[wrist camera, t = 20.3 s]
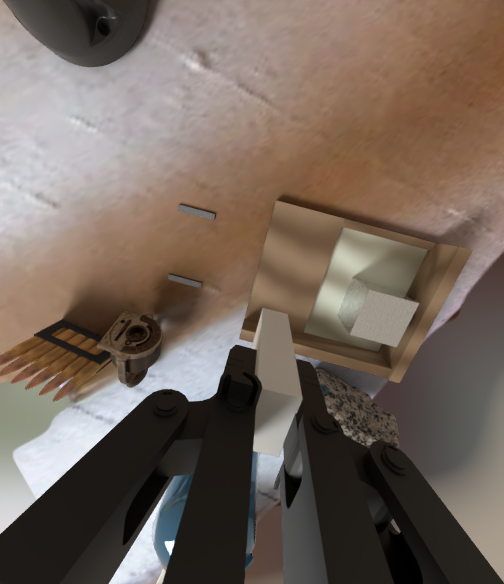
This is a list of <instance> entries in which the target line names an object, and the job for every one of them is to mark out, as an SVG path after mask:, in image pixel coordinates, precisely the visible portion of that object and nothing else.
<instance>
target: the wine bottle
mask: <svg viewBox="0 0 504 584" xmlns="http://www.w3.org/2000/svg"><path fill="white" fill-rule="evenodd" d="M259 456H260V453H259V452H255V451H253V459H252V474H251V489H250V504H249V519H248V534H247V549H246V564H245V570H246V569H247V568H248V567H249V566H250V565H251V563H252V562H253V555H252V551H253V548H254V545H255V538H256V519H257V498H258V477H259ZM193 475H194V474H188V475H180V476H174V478H173V480H172V481H171V483H170V484H169V486H168V488H167V489H166V491H165V493H164V495H163V498H162V500H161V503H160V506H159V508H158V511H157V513H156V516H155V519H154V522H153V527H152V539H153V544H154V548H155V551H156V553H157V556H158V559H159V562H160V564H161V565H162V567H163V569H164V570H165V571H166V569H167V566H168V562H169V559H170V555H171V552H172V548H173V545H174V541H175V538H176V534H177V531H178V527H179V524H180V520H181V517H182V513H183V510H184V506H185V503H186V499H187V496H188V492H189V489H190V486H191V482H192V479H193Z"/></svg>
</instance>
